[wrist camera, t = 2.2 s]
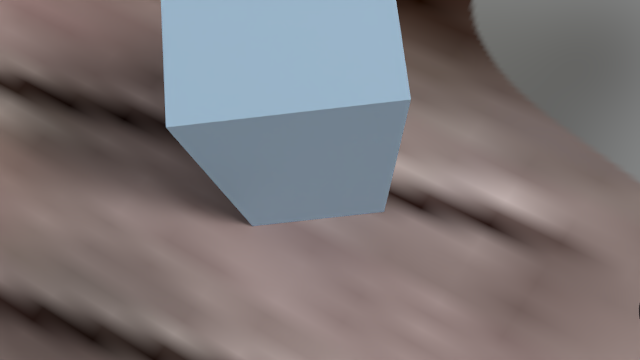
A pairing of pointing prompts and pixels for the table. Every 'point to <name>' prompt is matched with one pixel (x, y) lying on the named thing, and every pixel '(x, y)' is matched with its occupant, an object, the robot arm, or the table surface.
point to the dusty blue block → (288, 101)
